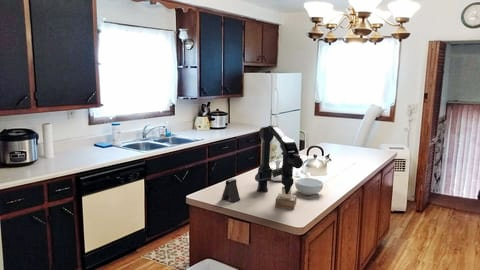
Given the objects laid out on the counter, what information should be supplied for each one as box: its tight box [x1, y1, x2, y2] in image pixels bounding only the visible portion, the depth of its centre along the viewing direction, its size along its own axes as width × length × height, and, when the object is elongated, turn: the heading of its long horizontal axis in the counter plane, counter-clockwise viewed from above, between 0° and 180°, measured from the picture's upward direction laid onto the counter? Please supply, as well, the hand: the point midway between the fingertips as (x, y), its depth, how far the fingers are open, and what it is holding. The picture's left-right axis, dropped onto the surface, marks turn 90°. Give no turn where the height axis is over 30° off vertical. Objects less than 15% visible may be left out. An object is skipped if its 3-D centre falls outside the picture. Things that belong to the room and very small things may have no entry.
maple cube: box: [281, 186, 292, 199], centre depth 204 cm, size 5×5×5 cm
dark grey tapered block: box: [221, 178, 241, 204], centre depth 211 cm, size 9×6×12 cm, turn 50°
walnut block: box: [274, 192, 297, 210], centre depth 205 cm, size 10×10×5 cm
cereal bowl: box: [294, 177, 324, 196], centre depth 227 cm, size 17×17×7 cm
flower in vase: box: [270, 143, 283, 182], centre depth 251 cm, size 13×11×25 cm
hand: (286, 191), depth 204 cm, fingers open, 8 cm apart
